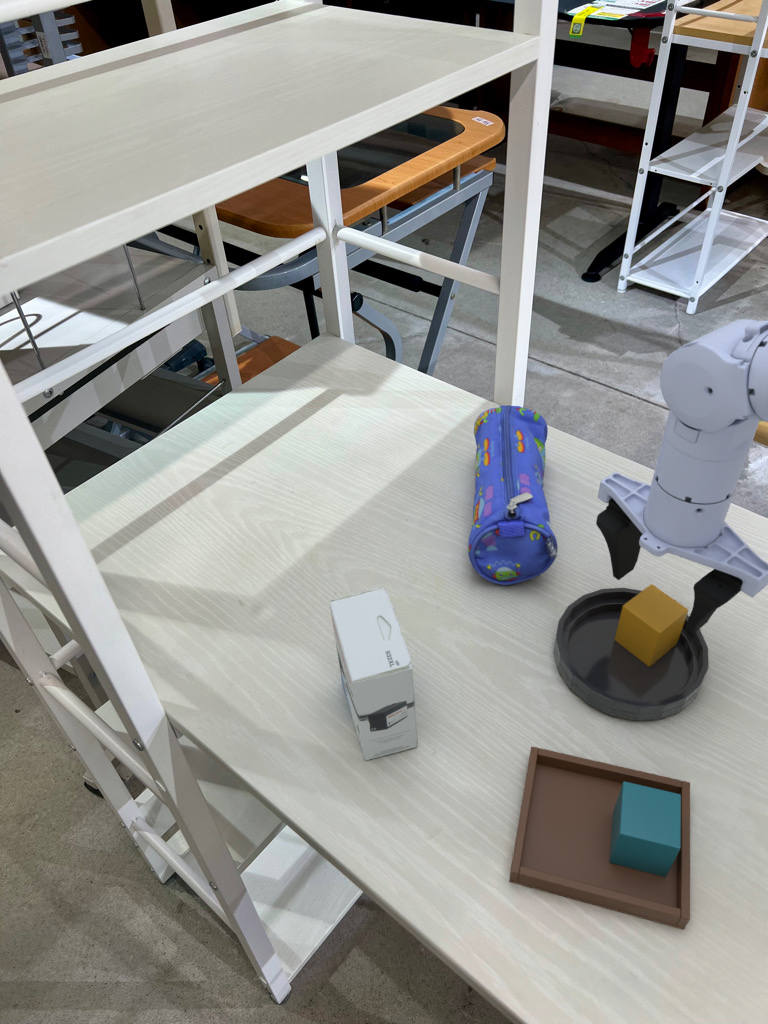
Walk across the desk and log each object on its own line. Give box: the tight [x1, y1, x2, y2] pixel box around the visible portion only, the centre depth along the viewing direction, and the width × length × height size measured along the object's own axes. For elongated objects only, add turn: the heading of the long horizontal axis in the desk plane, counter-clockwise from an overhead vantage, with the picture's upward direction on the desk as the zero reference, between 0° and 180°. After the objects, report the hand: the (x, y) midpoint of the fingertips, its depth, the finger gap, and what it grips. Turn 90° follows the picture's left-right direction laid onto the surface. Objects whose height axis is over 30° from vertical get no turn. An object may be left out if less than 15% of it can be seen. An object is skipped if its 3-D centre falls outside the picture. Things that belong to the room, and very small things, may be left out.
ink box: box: [328, 586, 419, 761], centre depth 62 cm, size 8×5×12 cm, turn 15°
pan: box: [553, 587, 710, 721], centre depth 67 cm, size 13×13×2 cm
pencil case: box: [467, 404, 558, 586], centre depth 79 cm, size 22×9×10 cm, turn 174°
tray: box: [508, 746, 691, 930], centre depth 56 cm, size 12×10×2 cm
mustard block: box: [615, 583, 689, 667], centre depth 67 cm, size 4×4×5 cm
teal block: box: [609, 781, 681, 877], centre depth 54 cm, size 4×4×5 cm
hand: (658, 598), depth 64 cm, fingers open, 7 cm apart
